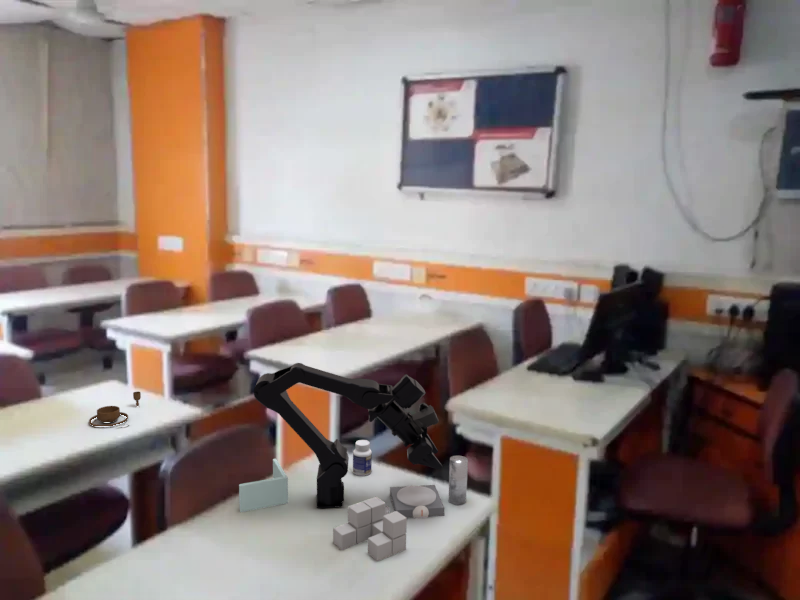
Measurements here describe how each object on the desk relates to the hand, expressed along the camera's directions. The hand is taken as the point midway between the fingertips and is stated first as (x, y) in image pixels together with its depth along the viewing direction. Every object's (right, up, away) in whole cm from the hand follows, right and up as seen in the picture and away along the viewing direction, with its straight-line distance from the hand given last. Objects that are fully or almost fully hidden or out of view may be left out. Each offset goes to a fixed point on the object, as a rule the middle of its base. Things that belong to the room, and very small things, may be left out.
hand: (439, 460), depth 166 cm
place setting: (-104, 0, +53) cm, 117 cm away
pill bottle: (-21, -8, +18) cm, 28 cm away
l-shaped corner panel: (-47, -11, +3) cm, 48 cm away
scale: (-6, -11, 0) cm, 13 cm away
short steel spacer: (-15, -13, -7) cm, 21 cm away
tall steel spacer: (+5, -11, +3) cm, 12 cm away
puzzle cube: (-17, -15, -18) cm, 29 cm away
